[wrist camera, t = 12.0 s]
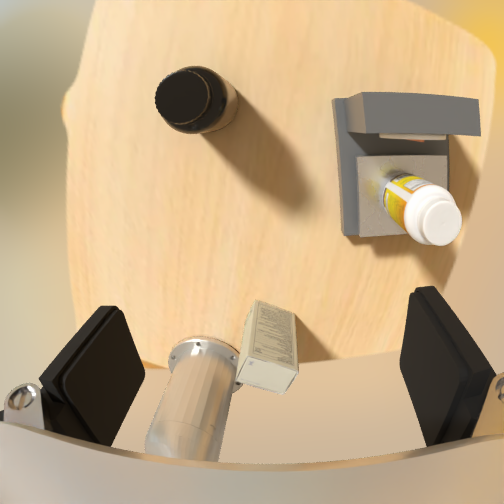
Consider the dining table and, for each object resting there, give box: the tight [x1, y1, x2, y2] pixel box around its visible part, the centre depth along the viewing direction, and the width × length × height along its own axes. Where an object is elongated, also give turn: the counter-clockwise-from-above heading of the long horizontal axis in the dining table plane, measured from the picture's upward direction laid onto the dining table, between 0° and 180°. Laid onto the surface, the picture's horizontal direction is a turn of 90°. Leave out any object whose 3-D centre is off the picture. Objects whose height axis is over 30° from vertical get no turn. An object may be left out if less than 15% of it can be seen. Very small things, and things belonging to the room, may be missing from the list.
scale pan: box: [355, 155, 447, 237], centre depth 34 cm, size 9×11×2 cm
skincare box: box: [236, 300, 299, 394], centre depth 39 cm, size 6×4×12 cm
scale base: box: [332, 92, 481, 236], centre depth 30 cm, size 16×14×11 cm
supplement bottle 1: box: [155, 66, 238, 134], centre depth 30 cm, size 7×7×12 cm
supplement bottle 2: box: [382, 173, 462, 246], centre depth 28 cm, size 6×6×10 cm
